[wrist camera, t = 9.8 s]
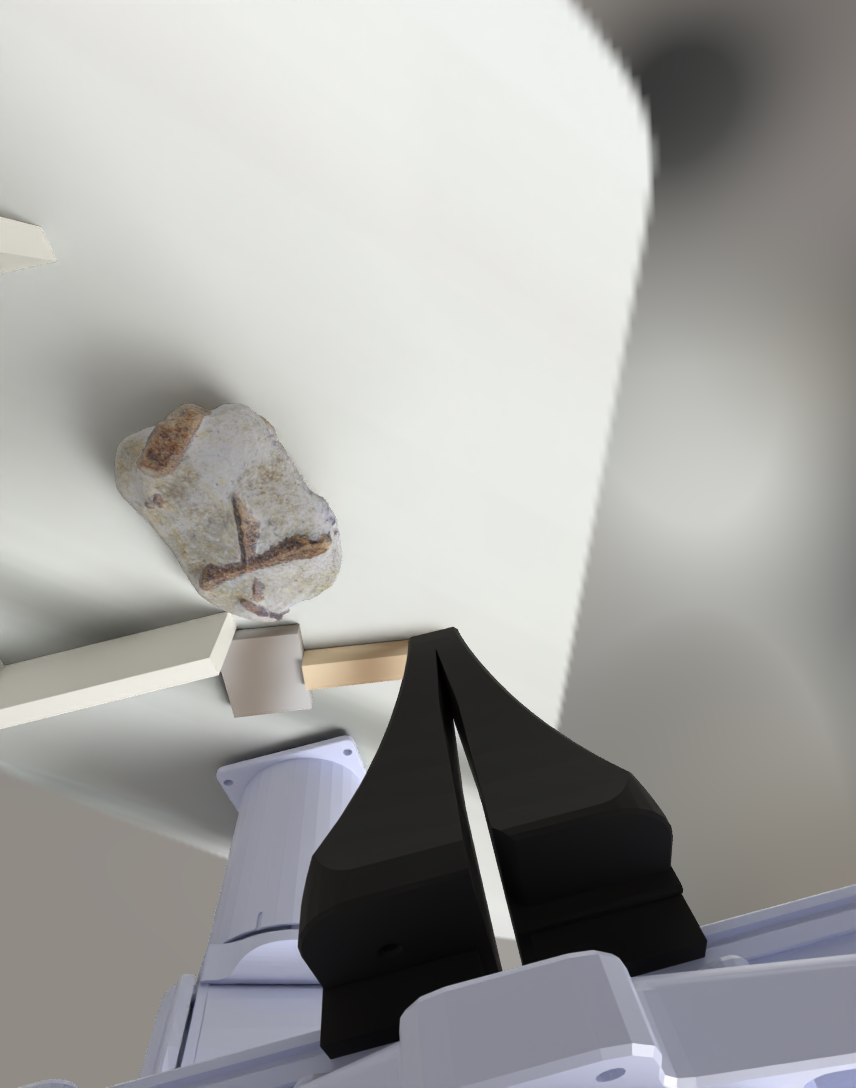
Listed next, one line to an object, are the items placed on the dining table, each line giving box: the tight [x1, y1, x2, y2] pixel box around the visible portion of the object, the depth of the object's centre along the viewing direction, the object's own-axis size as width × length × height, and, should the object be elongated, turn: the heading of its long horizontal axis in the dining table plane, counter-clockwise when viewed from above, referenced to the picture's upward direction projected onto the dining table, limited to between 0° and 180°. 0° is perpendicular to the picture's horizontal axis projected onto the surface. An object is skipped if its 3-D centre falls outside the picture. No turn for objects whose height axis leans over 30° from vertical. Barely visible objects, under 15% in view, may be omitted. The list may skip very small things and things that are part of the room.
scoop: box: [221, 624, 409, 718], centre depth 25 cm, size 12×5×1 cm, turn 92°
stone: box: [114, 403, 342, 622], centre depth 19 cm, size 10×7×3 cm
